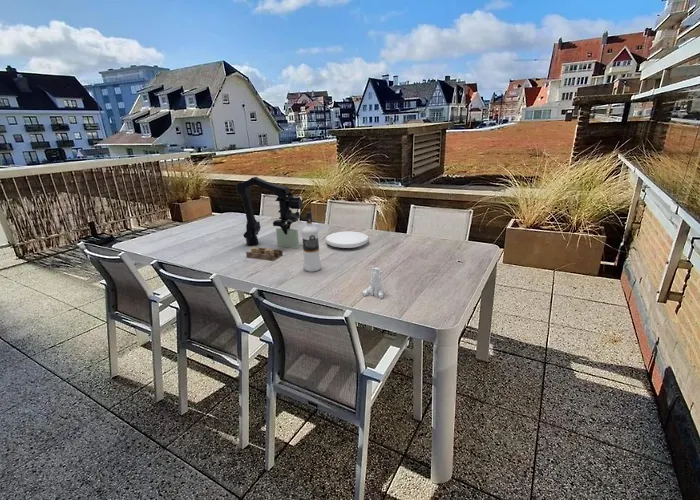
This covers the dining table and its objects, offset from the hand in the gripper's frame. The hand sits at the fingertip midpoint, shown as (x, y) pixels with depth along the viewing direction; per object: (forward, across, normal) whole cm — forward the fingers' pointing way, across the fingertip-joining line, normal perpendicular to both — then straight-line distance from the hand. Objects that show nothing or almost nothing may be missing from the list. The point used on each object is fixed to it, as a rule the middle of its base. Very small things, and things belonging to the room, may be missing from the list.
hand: (286, 234), depth 208 cm
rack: (+9, -18, +4) cm, 21 cm away
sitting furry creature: (+9, -40, -68) cm, 79 cm away
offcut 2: (+8, -20, 0) cm, 22 cm away
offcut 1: (+8, -20, +8) cm, 23 cm away
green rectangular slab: (+8, 0, 0) cm, 8 cm away
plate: (+9, +19, -31) cm, 38 cm away
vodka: (+9, -24, -29) cm, 39 cm away
